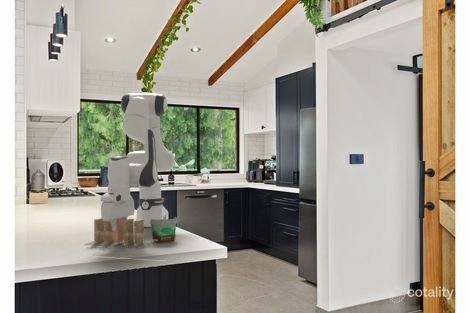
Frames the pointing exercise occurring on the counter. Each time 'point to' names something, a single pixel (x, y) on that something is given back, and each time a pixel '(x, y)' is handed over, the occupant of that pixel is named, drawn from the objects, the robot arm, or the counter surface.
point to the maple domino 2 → (108, 233)
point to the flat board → (119, 244)
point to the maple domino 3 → (128, 232)
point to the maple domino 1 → (98, 231)
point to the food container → (163, 230)
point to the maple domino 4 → (139, 232)
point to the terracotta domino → (119, 231)
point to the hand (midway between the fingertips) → (119, 229)
